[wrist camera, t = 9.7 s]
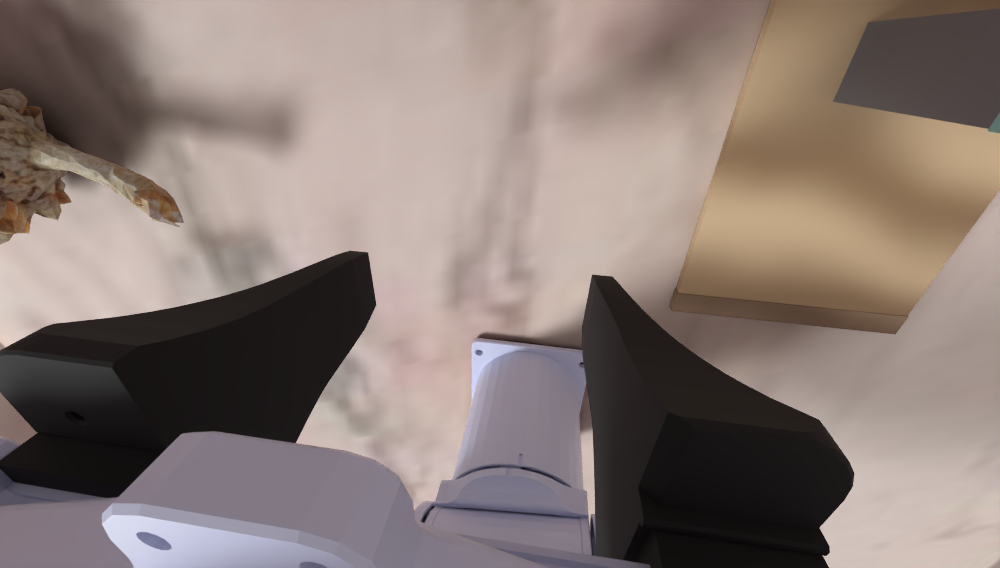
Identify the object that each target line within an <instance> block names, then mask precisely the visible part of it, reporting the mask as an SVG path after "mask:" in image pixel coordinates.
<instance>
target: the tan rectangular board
mask: <svg viewBox="0 0 1000 568" xmlns="http://www.w3.org/2000/svg"><path fill="white" fill-rule="evenodd" d="M991 9H1000V0H771V3H770V6H769V9H768V12H767V15H766V18H765V21H764V24H763V27H762V30H761V33H760V36H759V39H758V42H757V45H756V48H755V51H754V54H753V57H752V60H751V63H750V66H749V69H748V72H747V75H746V78H745V81H744V84H743V87H742V90H741V93H740V96H739V99H738V103H737V106H736V109H735V112H734V115H733V118H732V121H731V124H730V127H729V130H728V133H727V136H726V139H725V142H724V145H723V148H722V151H721V154H720V157H719V160H718V163H717V166H716V169H715V172H714V175H713V178H712V181H711V184H710V187H709V190H708V193H707V196H706V199H705V202H704V206H703V209H702V212H701V215H700V218H699V221H698V224H697V227H696V230H695V233H694V236H693V239H692V242H691V245H690V248H689V251H688V254H687V257H686V260H685V263H684V266H683V269H682V272H681V275H680V278H679V281H678V284H677V287H676V289H675V291H674V294H673V297H672V300H671V303H670V308H671V310H672V311H680V312H689V313H699V314H708V315H718V316H727V317H737V318H746V319H756V320H765V321H775V322H784V323H794V324H803V325H813V326H822V327H832V328H841V329H851V330H860V331H870V332H879V333H889V334H896V333H897V331H898V330H899V329H900V327H901V326H902V324H903V323H904V322H905V320H906V319H907V318H908V316H907V315H908V314H909V312H910V311H911V310H912V308H913V307H914V306H915V304H916V303H917V301H918V300H919V299H920V297H921V296H922V295H923V293H924V292H925V291H926V289H927V288H928V286H929V285H930V284H931V282H932V281H933V280H934V278H935V277H936V276H937V274H938V273H939V271H940V270H941V269H942V267H943V266H944V265H945V263H946V262H947V261H948V259H949V258H950V256H951V255H952V254H953V252H954V251H955V250H956V248H957V247H958V246H959V244H960V243H961V241H962V240H963V239H964V237H965V236H966V235H967V233H968V232H969V231H970V229H971V228H972V226H973V225H974V224H975V222H976V221H977V220H978V218H979V217H980V216H981V214H982V213H983V212H984V210H985V209H986V207H987V206H988V205H989V203H990V202H991V201H992V199H993V198H994V197H995V195H996V194H997V192H998V191H999V190H1000V133H995V132H989V131H988V129H986V128H980V127H974V126H969V125H963V124H957V123H952V122H946V121H940V120H935V119H929V118H923V117H917V116H912V115H906V114H900V113H895V112H889V111H883V110H877V109H872V108H866V107H860V106H855V105H849V104H843V103H837V102H833V100H834V98H835V96H836V93H837V91H838V89H839V87H840V84H841V82H842V80H843V78H844V76H845V73H846V71H847V69H848V67H849V64H850V62H851V60H852V58H853V55H854V53H855V51H856V49H857V47H858V44H859V42H860V40H861V38H862V35H863V33H864V31H865V29H866V26H867V24H868V22H874V21H883V20H893V19H903V18H913V17H922V16H932V15H942V14H952V13H961V12H971V11H981V10H991Z"/></svg>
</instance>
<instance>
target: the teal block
mask: <svg viewBox="0 0 1000 568" xmlns="http://www.w3.org/2000/svg"><path fill="white" fill-rule="evenodd" d="M833 102H837V103H843V104H849V105H855V106H860V107H866V108H872V109H877V110H883V111H889V112H895V113H900V114H906V115H912V116H917V117H923V118H929V119H935V120H940V121H946V122H952V123H957V124H963V125H969V126H974V127H980V128H986V129H988V131H989V132H995V133H1000V9H991V10H981V11H971V12H961V13H952V14H942V15H932V16H922V17H913V18H903V19H893V20H883V21H874V22H868V24H867V26H866V29H865V31H864V33H863V35H862V38H861V40H860V42H859V44H858V47H857V49H856V51H855V53H854V55H853V58H852V60H851V62H850V64H849V67H848V69H847V71H846V73H845V76H844V78H843V80H842V82H841V84H840V87H839V89H838V91H837V93H836V96H835V98H834V100H833Z"/></svg>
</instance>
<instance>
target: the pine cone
mask: <svg viewBox="0 0 1000 568" xmlns="http://www.w3.org/2000/svg"><path fill="white" fill-rule="evenodd" d="M27 102H28V100H27V99H26V97H25V96H24V95H23V94H22V93H21V92H20V91H18V90H16V89H14V88H11V89H4V90H1V91H0V244H2V243H5V242H7V241H9V240H10V238H11V237H12V235H13V234H16V233H29V231H30V222H31V218H32V215H33V214H34V213H36V214H39V215H41V216H43V217H47V218H51V219H55V220H58V218H59V215H60V213H61V208H60V205H61V204H65V203H70V202H71V200H70V198H69V197H68V195H67V194H66V193H65V192H64V188H65V183H64V182H63V181H62V180H61V177H63V176H64V175H66V174H68V171H71V172H74V173H76V174H79V175H81V176H83V177H85V178H87V179H90V180H93V181H96V182H98V183H100V184H101V185H103V186H106V187H108V188H111V189H112V190H114V191H115V192H116V193H118V194H120V195H121V196H123V197H125V198H126V199H127V200H128V201H130V202H131V203H132V204H133V205H134V206H136V207H137V208H139V209H140V210H142V211H144V212H145V213H147V214H148V215H149V216H150V217H151V218H152V220H153V221H158V222H164V223H168V224H171V225H174V226H178V225H177V224H175V223H174V222H180V223H184V222H183V219H182V215H181V213H180V211H179V209H178V206H177V204H176V202H175V200H174V198H173V197H172V196H171V195H170V194H169V193H168V192H167V191H166V190H164V189H163V188H161V187H160V186H158V185H157V184H155V183H154V182H153V181H152V180H150V179H148V178H146V177H144V176H142V175H140V174H137V173H135V172H133V171H131V170H129V169H127V168H125V167H122V166H120V165H117V164H114V163H111V162H108V161H106V160H104V159H102V158H100V157H96V156H93V155H90V154H87V153H84V152H81V151H79V150H76V149H74V148H71V147H70V146H71V145H70V144H67V143H64V142H61V141H58V140H56V139H55V138H54V137H53V136H52V135H51V134H50V133H46V129H45V125H44V121H43V116H42V111H41V107H36V106H26V104H27ZM178 227H179V226H178Z"/></svg>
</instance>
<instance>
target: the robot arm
mask: <svg viewBox="0 0 1000 568" xmlns="http://www.w3.org/2000/svg"><path fill="white" fill-rule="evenodd" d="M375 306H376V300H375V294H374V288H373V281H372V275H371V269H370V262H369V256H368V253H367V252H357V251H348V252H344V253H341V254H338V255H335V256H333V257H330V258H327V259H325V260H322V261H320V262H317V263H315V264H313V265H310V266H308V267H305V268H303V269H300V270H298V271H295V272H293V273H290V274H288V275H285V276H282V277H280V278H277V279H274V280H272V281H269V282H266V283H264V284H261V285H258V286H255V287H252V288H249V289H246V290H243V291H239V292H236V293H232V294H229V295H225V296H222V297H218V298H214V299H210V300H205V301H201V302H197V303H192V304H188V305H184V306H179V307H174V308H169V309H164V310H158V311H153V312H147V313H140V314H134V315H128V316H120V317H113V318H104V319H95V320H86V321H77V322H68V323H57V324H52V325H49V326H46V327H44V328H42V329H40V330H38V331H36V332H34V333H32V334H30V335H28V336H26V337H25V338H23V339H21V340H19V341H17V342H15V343H13V344H11V345H10V346H8V347H6V348H4V349H2V350H1V351H0V392H1V394H2V395H3V396H4V397H5V398H6V399H7V400H8V401H9V402H10V404H11V405H12V406H13V407H14V408H15V409H16V410H17V411H18V412H19V413H20V415H22V417H23V418H24V419H25V420H26V421H27V422H28V423H29V424H30V425H31V427H33V429H34V430H35V431H36V432H38V433H37V434H36V435H34V436H33V437H31V438H30V439H29V440H27V441H26V442H25V443H23V444H22V445H21V444H19V443H17V442H15V441H14V440H12V439H9V438H5V437H1V436H0V568H829V567H828V565H827V563H826V561H825V559H824V558H823V556H822V555H824V556H827V555H828V554H829V553H830V549H829V545H828V543H827V541H826V539H825V538H824V536H823V534H822V532H821V530H820V529H819V527H820V526H821V525H822V524H823V523H824V522H825V521H826V520H827V519H828V517H829V516H830V515H831V514H832V513H833V512H834V511H835V510H836V509H837V508H838V507H839V505H840V504H841V503H842V502H843V501H844V500H845V498H846V496H847V495H848V493H849V492H850V490H851V488H852V486H853V480H854V472H853V469H852V467H851V465H850V462H849V461H848V459H847V458H846V456H845V455H844V454H843V452H842V451H841V449H840V448H839V447H838V445H837V444H836V442H835V441H834V440H833V438H832V437H831V435H830V434H829V433H828V431H827V430H826V428H825V427H824V426H823V424H822V423H821V422H820V420H818V419H816V418H814V417H812V416H809V415H807V414H805V413H803V412H800V411H798V410H796V409H794V408H792V407H789V406H787V405H785V404H783V403H781V402H778V401H776V400H774V399H772V398H770V397H768V396H766V395H764V394H762V393H760V392H758V391H756V390H754V389H752V388H750V387H748V386H746V385H745V384H743V383H741V382H739V381H737V380H736V379H734V378H732V377H730V376H729V375H727V374H725V373H723V372H722V371H720V370H719V369H717V368H715V367H714V366H712V365H711V364H709V363H708V362H706V361H704V360H703V359H701V358H700V357H698V356H697V355H696V354H694V353H693V352H691V351H690V350H689V349H687V348H686V347H685V346H683V345H682V344H681V343H679V342H678V341H677V340H675V339H674V338H673V337H672V336H671V335H669V334H668V333H667V332H666V331H665V330H664V329H662V328H661V327H660V326H659V325H658V324H657V323H656V322H655V321H654V320H652V319H651V318H650V317H649V316H648V315H647V314H646V313H645V312H644V311H643V310H642V309H641V308H640V307H639V305H638V304H637V303H636V302H635V301H634V300H633V299H632V298H631V297H630V296H629V295H628V293H627V292H626V291H625V290H624V289H623V288H622V287H621V286H620V284H619V283H618V282H617V281H616V280H615V279H614V278H613V277H610V276H600V275H592V278H591V283H590V289H589V294H588V299H587V304H586V310H585V315H584V320H583V325H582V350H577V349H569V348H560V347H552V346H543V345H535V344H526V343H518V342H509V341H501V340H492V339H483V338H476V339H475V340H474V341H473V343H472V404H471V408H470V412H469V416H468V420H467V424H466V428H465V432H464V436H463V440H462V444H461V447H460V451H459V455H458V459H457V463H456V467H455V471H454V475H453V479H452V480H443V481H441V484H440V487H439V491H438V494H437V498H436V502H433V501H425V502H423V503H421V504H420V505H419V506H418V507H417V508H416V509H415V511H414V508H413V501H412V499H411V497H410V495H409V493H408V491H407V490H406V488H405V486H404V484H403V483H402V481H401V479H400V477H399V476H398V475H397V474H395V473H394V472H392V471H391V470H389V469H388V468H387V467H385V466H384V465H382V464H381V463H379V462H378V461H376V460H374V459H371V458H368V457H364V456H361V455H358V454H355V453H352V452H348V451H344V450H337V449H330V448H323V447H317V446H310V445H303V444H297V443H296V441H297V439H298V437H299V435H300V433H301V431H302V429H303V427H304V425H305V423H306V421H307V419H308V417H309V415H310V414H311V412H312V410H313V408H314V406H315V404H316V402H317V401H318V399H319V397H320V395H321V393H322V391H323V390H324V388H325V387H326V385H327V383H328V382H329V380H330V379H331V377H332V376H333V375H334V373H335V372H336V370H337V369H338V367H339V366H340V364H341V363H342V362H343V360H344V359H345V357H346V356H347V354H348V353H349V351H350V350H351V349H352V347H353V346H354V344H355V343H356V341H357V340H358V338H359V337H360V335H361V334H362V332H363V331H364V329H365V327H366V325H367V323H368V321H369V319H370V317H371V315H372V313H373V311H374V308H375ZM477 350H481V351H482V352H479V351H477ZM581 362H583V363H584V364H580V363H581ZM586 383H587V390H588V396H589V403H590V410H591V417H592V427H593V447H594V478H595V514H591V520H590V527H589V519H588V501H587V491H585V490H583V473H582V454H581V436H580V418H579V414H580V409H581V405H582V400H583V396H584V391H585V387H586Z"/></svg>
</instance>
